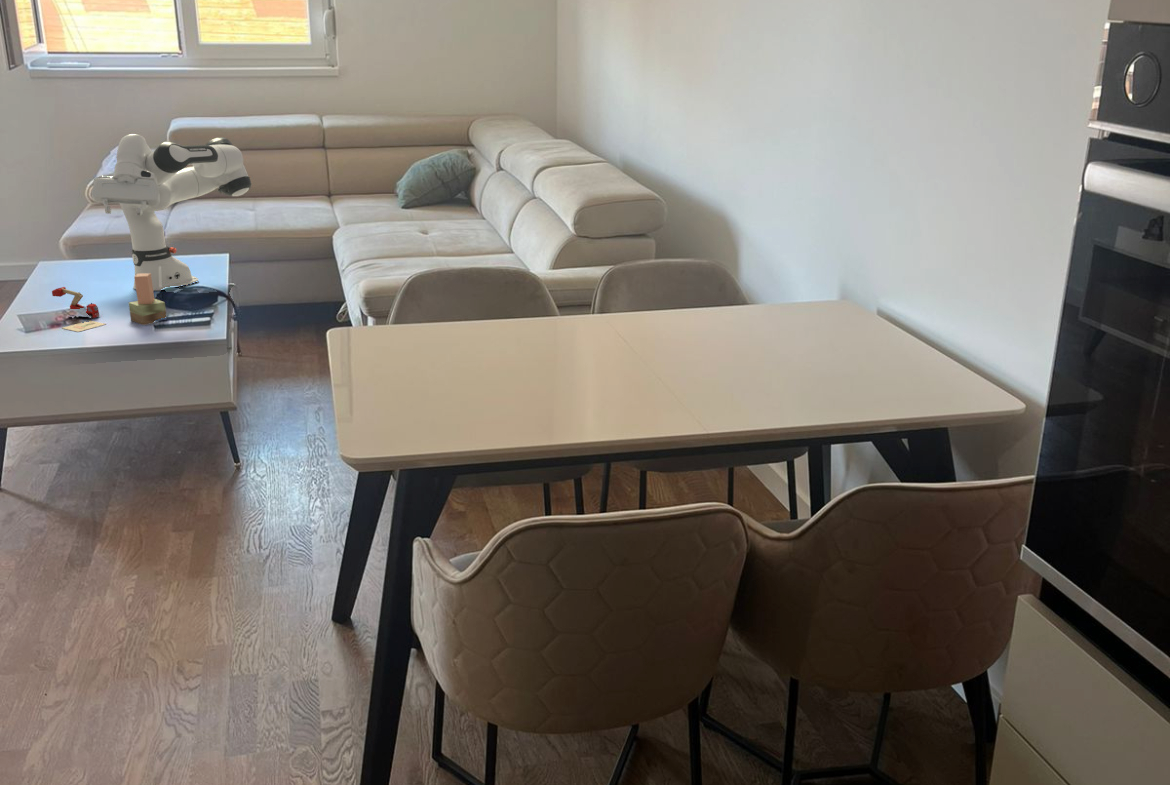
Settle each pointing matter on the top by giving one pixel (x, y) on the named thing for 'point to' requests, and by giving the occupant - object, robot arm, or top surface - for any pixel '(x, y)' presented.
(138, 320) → the tower base
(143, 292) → the terracotta column block
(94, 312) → the toy fire truck
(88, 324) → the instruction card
